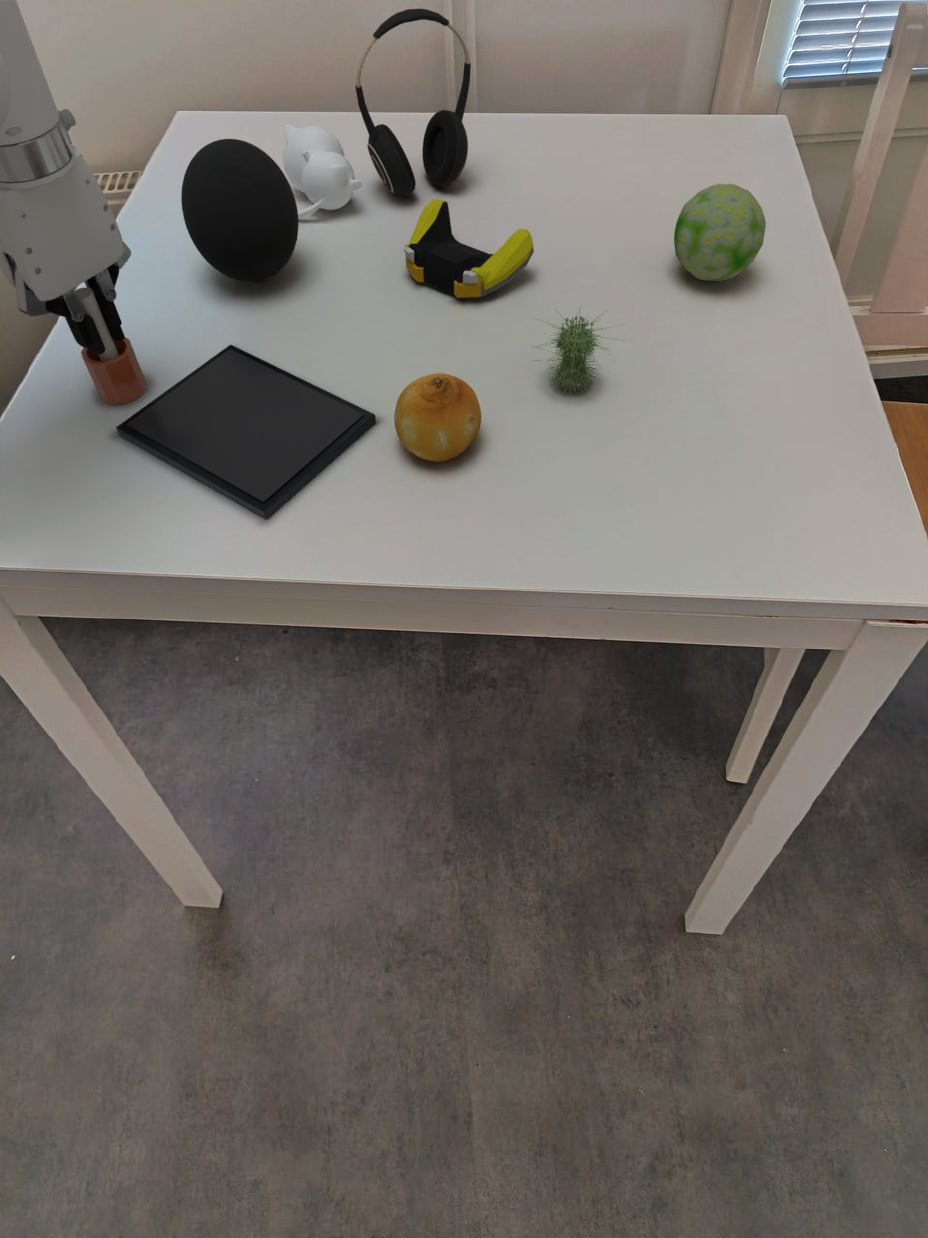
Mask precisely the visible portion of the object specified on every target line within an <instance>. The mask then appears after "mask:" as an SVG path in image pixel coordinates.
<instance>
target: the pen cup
mask: <svg viewBox="0 0 928 1238" xmlns="http://www.w3.org/2000/svg"><path fill="white" fill-rule="evenodd" d="M112 339H113V338H112ZM113 342H114V344H115V347H116V349H117V351H118V354H119V356H118V357H117V358H115V359H112V360H109V361H105V362H104V361H101V359H100V357H99V354H98V353H96V352H94V351H92V350H90V349H88V348H84V347H82V350H81V352H80V354H81V357H82V361H83V362H84V365H85V367H86V369H87V371H88V373H89V376H90V378H91V380H92V383H93V385H94V387H95V389H96V391H97V393H98V395H99V397H100V398H101V399H102V401H104V402H105V403H107V404H109V405H126V404H129V403H132V402H134V401H137V400H138V399H139V398H141V397H142V396H143V395H144V394H145V392H146V391H147V388H148V384H147V381H146V378H145V375H144V373H143V370H142V368H141V366H140V363H139V361H138V357H137V355H136V353H135V351H134V347H133V345H132V343H131V340H130V338H128V337H126V336H125V339H124V340H122V341H117V340H115V339H113Z"/></svg>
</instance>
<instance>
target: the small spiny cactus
mask: <svg viewBox="0 0 928 1238" xmlns="http://www.w3.org/2000/svg"><path fill="white" fill-rule="evenodd" d="M555 311H556V312H558V310H557V309H555ZM580 312H581V307H579V308H578V312H577V311H576V315H575V316H574V317H572V318H571V319H569V318H568V317H565V318H564V317H563V316H561V314H559V317H561V320H562V321H563V322H562V323H561V326H558V325H555V324H553V323H550V322H547V321H544V320H542V322H543V323H544V324H546V325H548V326H550V327H551V328H555V329H557V330H555V332H554V333H555V336H556V337H554V338H552V337H551V336H549V337H550V338H549V339H550V340H552V341H549V342H545V343H543V344H539V345H537V346H532V345H531V347H532V348H530V350H531V349H539V350H541V351H542V350H543V351H544V349H542V347H546V346H550V345H552V344H553V346H551V347H549V349H550V348H556V349H555V356H553V357H551V358H550V359H547V362H549V361H550V362H552V363H546V366H550V367H548V368H547V369H546V370H544V371H543V373H545V372H547V371H548V372H549V370H550V369H551V371H550V372H549V373H546V374H547V375H550V376H548V377H547V378H548V379H549V378H550V377H551V378H550V380H548V381H547V383H549V382H550V381H554V382H552V383H551V384H550V385H548V387H550V386H553V385H554V384H555V386H554V387H553V388H552V389H551V391H554V389H555V388H557V389H558V391H560V390H562V389H563V388H564V387H565V390H563V391H564V394H565V393H567V392H566V391H567V390H568V387H569V392H571V391H572V388H573V392H574V393H578V394H580V393H579V391H581V392H582V394H584V393H583V388H584V390H587V389H586V388H592V389H593V387H592V386H590V385H589V384H592V385H594V383H593V382H592V379H591V378H590V377H592V378H594V379H596V377H597V376H594V375H593V374H596V375H599V373H596V372H595V371H596V370H597V371H600V370H601V371H603V370H602V369H603V368H597V367H601V366H600V365H599V364H598V361H597V360H596V359H597V357H598V358H600V357H599V356H598V355H595V353H596V350H597V349H598V350H603V351H605V352H606V351H607V352H610V353H612V351H611V350H610V349H608V348H607V347H601V343H600V339H599V338H600V337H601V338H602V339H606V337H604V336H603V337H602V336H601V335H600V334H596V333H593V332H596V331H601V330H605V327H601V328H598V327H595V328H594V327H593V326H594V325H595V324H594V323H596V322H598V321H600V320H601V318H600V317H601V316H602V315H603V313H601V315H599V316H598V317H596V318H595V319H594V320H592V321H591V322H589V319H587V320H586V318H588V317H589V315H587V317H586V318H584V317H583V316H582V315H581V316H580V315H579V317H578V316H577V315H578V314H581V313H580ZM606 312H607V310H605V311H604V313H606ZM577 313H578V314H577ZM532 318H533V319H535V320H538V321H540V319H539V318H536V317H532V316H531V319H532ZM599 318H600V319H599ZM597 319H598V320H597ZM564 325H565V326H564ZM623 325H626V323H624V324H622V326H623ZM588 326H590V328H588ZM619 326H621V324H619V325H617V327H619ZM614 327H616V325H615V326H614V325H613V326H612V328H614ZM608 328H609V329H610V328H611V326H609V327H607V329H608ZM558 330H559V331H558ZM608 339H610V340H613V338H611V337H608ZM615 340H616V341H619V339H618V338H615ZM622 341H623V342H624V341H625V342H626V340H625V339H622ZM630 342H633V341H630ZM596 347H597V348H596ZM599 347H600V348H599ZM521 352H522V351H521ZM521 352H520V353H521ZM548 352H549V353H552V354H554V352H553V351H550V350H548ZM610 353H608V354H609V356H611V354H610ZM595 357H596V358H595ZM553 358H554V359H553ZM604 359H605V360H606V359H607V358H604ZM534 361H537V362H538V361H540V362H541V359H540V360H539V359H538V360H532V362H534ZM611 361H613V362H614V360H612V359H611ZM555 362H556V363H557V364H556V363H555ZM593 362H594V363H593ZM592 363H593V364H592ZM552 364H553V365H556V366H553V365H552ZM592 366H595V367H592ZM592 373H593V374H592ZM607 373H609V371H607ZM540 374H541V372H540V373H538V375H540ZM609 374H610V373H609ZM551 375H552V376H551ZM576 375H577V376H576ZM533 376H536V375H533ZM573 376H574V377H573ZM569 377H570V378H569ZM528 378H530V377H528ZM572 380H573V381H572ZM577 389H579V391H577Z"/></svg>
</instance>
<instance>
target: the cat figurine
mask: <svg viewBox="0 0 928 1238" xmlns="http://www.w3.org/2000/svg"><path fill="white" fill-rule="evenodd" d="M283 132H284V138H285V145H284V149H283V155H282V161H283V163H282V164H283V168H284V172H285V176H286V178H287V180H289V183H291V185H293V186H294V188H295V189H297V190H299V191H300V192H302V193H304V194H305V196H306V197H307V198H308V200H309V201H310V202H311V203H312V205H310V206H308V207H306V208H303V209H302V210H299V211H298V221H300V220H301V219H304V218H306V217H308V216H310V215H312V214H313V213H315V212H316V211H318V210H319V209H322V210H326V211H333V210H338V209H340V208H342V207H344V206H345V205H346V204H348V203H349V201H350V200H351V198H352V196H353V194H354V192H355V191H357V190H358V189H361V187H362V186H363V185H362V183H363V181H362V180H361V179H356V176H355V172H354V169H353V167H352V165H351V162H349V160H348V159H347V158H346V157H345V152H344V149H343V146H342V144H341V142H340V140H339V139H338V138H337V137H336V136H335V135H334V134H333V132H331V131H330V130H328V129H325V128H323V127H321V126H315V125H314V126H313V125H309V126H304V127H297V126H295V125H292V124H286V125H285V126H284V129H283Z"/></svg>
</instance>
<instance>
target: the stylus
mask: <svg viewBox="0 0 928 1238" xmlns="http://www.w3.org/2000/svg"><path fill="white" fill-rule="evenodd" d="M74 291H75V293H76V295H77V298H78V300H79V302H80V304H81V307H82V309H83V311H84V313H85V314H87V315H89V316H91V317H92V318H93V320H94V323H95V325H96V327H97V330H98V332H99V334H100V337H101V339H102V342H103V344H104V346H105V352H104V353H102V354H101V355H99V357H100V359H101V361H104V362H105V361H109V360H112V359H115V358H117V357H118V356H119V354H118V351H117V349H116V347H115V344H114V342H113V339H112V337H111V334H110V332H109V330H108V327H107V325H106V322H105V320H104V317H103V315H102V313H101V310H100V308H99V305H98V303H97V300H96V298H95V296H94V293H93V291H92V289H90V288H87V287H80V288H77V289H76V290H74Z"/></svg>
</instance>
